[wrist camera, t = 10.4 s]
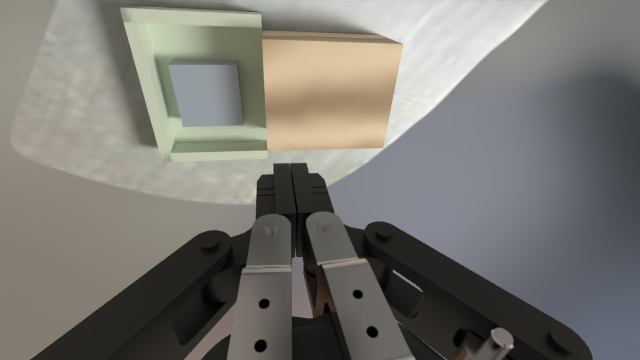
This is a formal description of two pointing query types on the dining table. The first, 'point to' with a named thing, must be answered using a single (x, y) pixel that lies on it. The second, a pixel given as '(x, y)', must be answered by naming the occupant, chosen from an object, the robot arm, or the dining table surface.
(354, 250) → the robot arm
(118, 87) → the dining table surface
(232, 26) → the tray
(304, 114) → the cardboard box
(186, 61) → the tile
